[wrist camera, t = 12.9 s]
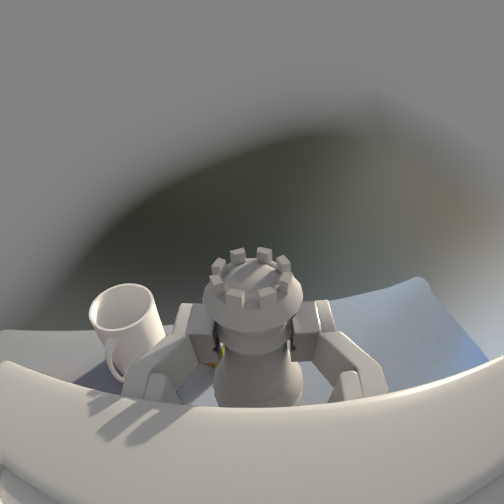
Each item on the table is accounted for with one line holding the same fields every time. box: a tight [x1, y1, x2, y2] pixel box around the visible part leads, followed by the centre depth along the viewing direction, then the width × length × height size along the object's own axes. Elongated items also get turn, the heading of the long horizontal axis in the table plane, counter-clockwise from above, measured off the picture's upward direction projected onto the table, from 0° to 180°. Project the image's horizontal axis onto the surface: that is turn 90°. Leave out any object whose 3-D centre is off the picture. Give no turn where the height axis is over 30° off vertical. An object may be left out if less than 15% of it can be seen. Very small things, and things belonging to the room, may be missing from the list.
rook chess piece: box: [202, 247, 303, 408], centre depth 10 cm, size 4×4×8 cm
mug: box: [89, 284, 165, 383], centre depth 34 cm, size 10×12×12 cm
